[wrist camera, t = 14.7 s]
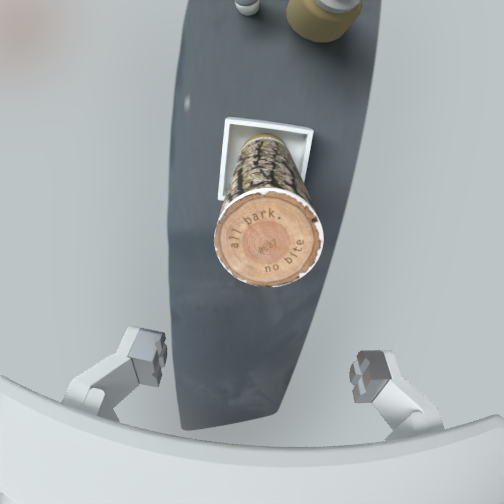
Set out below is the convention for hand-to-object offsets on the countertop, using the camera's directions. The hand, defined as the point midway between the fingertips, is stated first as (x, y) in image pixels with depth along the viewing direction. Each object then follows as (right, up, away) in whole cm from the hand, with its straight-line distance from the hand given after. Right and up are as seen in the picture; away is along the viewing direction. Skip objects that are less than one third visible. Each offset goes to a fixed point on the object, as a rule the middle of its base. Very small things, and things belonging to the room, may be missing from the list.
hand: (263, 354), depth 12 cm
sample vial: (-1, +37, +18) cm, 41 cm away
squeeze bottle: (+8, +35, +19) cm, 41 cm away
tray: (+1, +17, +29) cm, 34 cm away
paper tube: (+1, +18, +28) cm, 33 cm away
